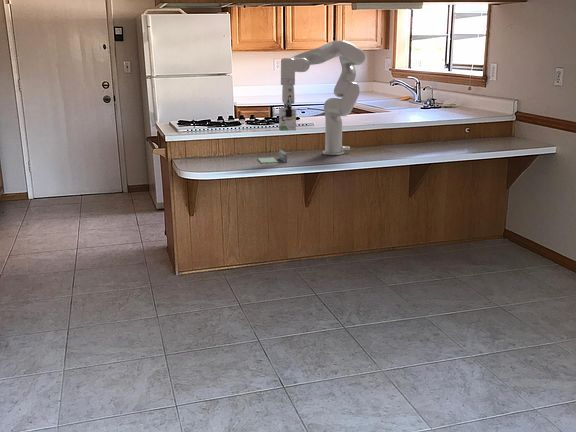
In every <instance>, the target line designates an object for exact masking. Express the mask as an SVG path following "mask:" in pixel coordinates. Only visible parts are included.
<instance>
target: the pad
mask: <svg viewBox="0 0 576 432" xmlns="http://www.w3.org/2000/svg"><path fill="white" fill-rule="evenodd" d="M257 160H258V162H260V164H261V163H264V164H279V161H278V160H277V159H276V158H275V157H257Z"/></svg>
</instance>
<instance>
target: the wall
mask: <svg viewBox="0 0 576 432" xmlns="http://www.w3.org/2000/svg"><path fill="white" fill-rule="evenodd" d="M278 159H279V160H280V161H281V160H282V161H283V162H284V163H288V154H287V153H286V152H285V151H284V150H283V149H281V150H280V149H279V150H278ZM282 161H281V162H282ZM283 162H282V163H283Z"/></svg>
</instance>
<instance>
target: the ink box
mask: <svg viewBox="0 0 576 432" xmlns="http://www.w3.org/2000/svg"><path fill="white" fill-rule="evenodd" d="M278 109H279V110H278V113H279V114H278V117H279V119H278V122H279V123H278V124H279V125H278V129H279V131H289V132H291V131H297V109H296V108H295V107H292V117H286V108H284V107H280V108H278Z"/></svg>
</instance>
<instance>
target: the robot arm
mask: <svg viewBox="0 0 576 432" xmlns="http://www.w3.org/2000/svg"><path fill="white" fill-rule="evenodd" d="M337 57H338V59H339V62H340V66H341V73H340V76H339V77H338V79H337V82H336V83H335V86H334V89H333V94H334V96H336V97H331V98H328V99H326V100H325V101H324V104H323V112H324V117H325V136H324V137H325V138H324V139H325V142H324V143H325V149H324V150H323V151H322V154H323V155H325V156H326V155H328V156H339V155H344V154H345V151H349V150H351V147H350V146H343V120H342V117H347V116H349V115H350V114H351V112H352V111H353V109H354V107H355V104H356V102H357V100H358V98H359V95H360V90H361V88H360V85H359V84H358V83H357V82H355V80H356V77H357V71H356V67H355V66H360V65H361V66H362V64H363V63H364V62H365V60H366V55H365V52H364V51H363V50H362V49H361V48H359V47H357V46H356V45H355V44H353V43H351V42H349V41H347V40H333V41H329V42H327V43H325V44H323V45H321V46H319V47H316V48H314V49H311V50H310V49H309V50H308V51H304V52H301V53H298V54H296V55H294V56H292V57H284V58H281V60H280V86H282V88H281V89H282V90H281V91H282V92H281V95H282V97H281V99H282V101H281V102H282V103H283V108H286V117H292V108H293V106H292V105H293V104H295V88H294V86H296V73H306V72H307V71H308V70H309V69H310V67H311V66H315V65H320V64H324V63H325V62H327V61H330V60H332V59H334V58H337Z"/></svg>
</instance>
